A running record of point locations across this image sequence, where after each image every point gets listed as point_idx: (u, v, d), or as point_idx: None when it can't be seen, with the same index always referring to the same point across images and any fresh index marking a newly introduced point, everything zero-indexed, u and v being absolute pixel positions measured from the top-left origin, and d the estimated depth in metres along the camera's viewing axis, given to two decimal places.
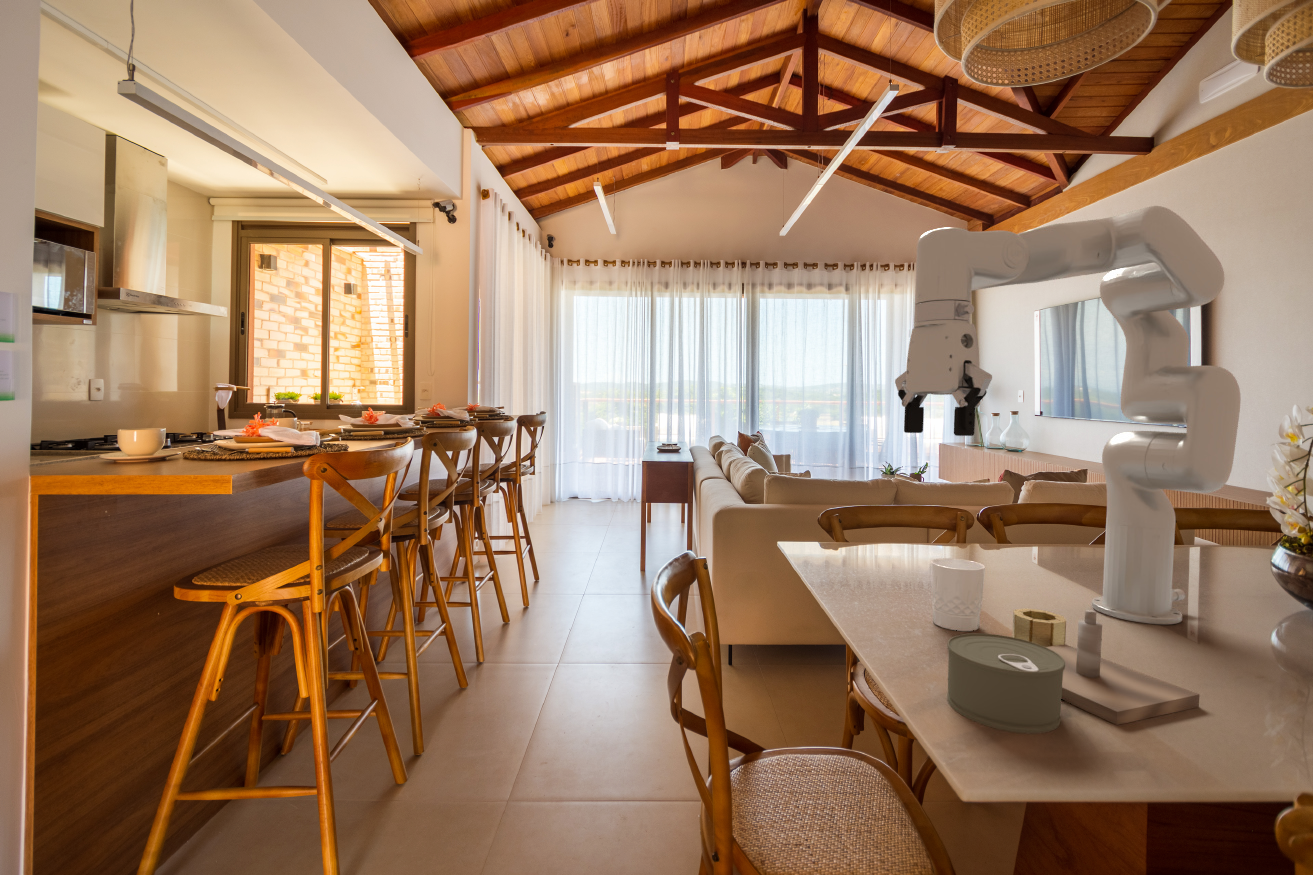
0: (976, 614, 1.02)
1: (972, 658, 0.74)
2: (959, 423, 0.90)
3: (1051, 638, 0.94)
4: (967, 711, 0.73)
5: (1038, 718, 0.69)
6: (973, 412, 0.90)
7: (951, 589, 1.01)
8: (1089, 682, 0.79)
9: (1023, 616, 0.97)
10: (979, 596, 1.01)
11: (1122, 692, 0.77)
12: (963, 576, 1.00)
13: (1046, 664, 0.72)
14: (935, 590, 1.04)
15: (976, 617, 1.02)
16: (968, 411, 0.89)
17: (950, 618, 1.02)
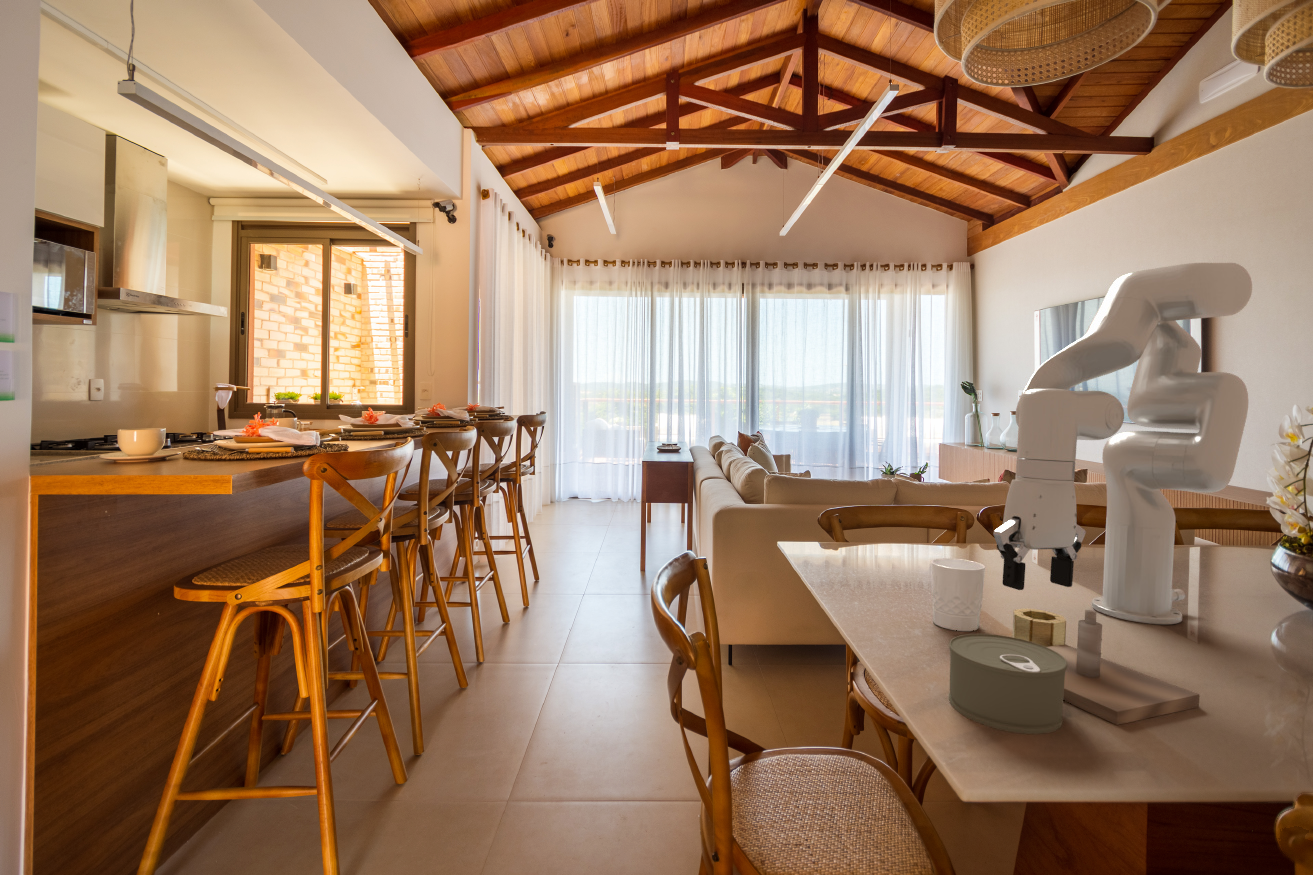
0: (976, 614, 1.02)
1: (973, 658, 0.73)
2: None
3: (1051, 638, 0.94)
4: (969, 711, 0.73)
5: (1040, 719, 0.69)
6: None
7: (951, 589, 1.01)
8: (1089, 682, 0.79)
9: (1023, 616, 0.97)
10: (979, 596, 1.01)
11: (1122, 692, 0.77)
12: (963, 576, 1.00)
13: (1048, 664, 0.72)
14: (934, 590, 1.04)
15: (976, 617, 1.02)
16: None
17: (950, 618, 1.02)
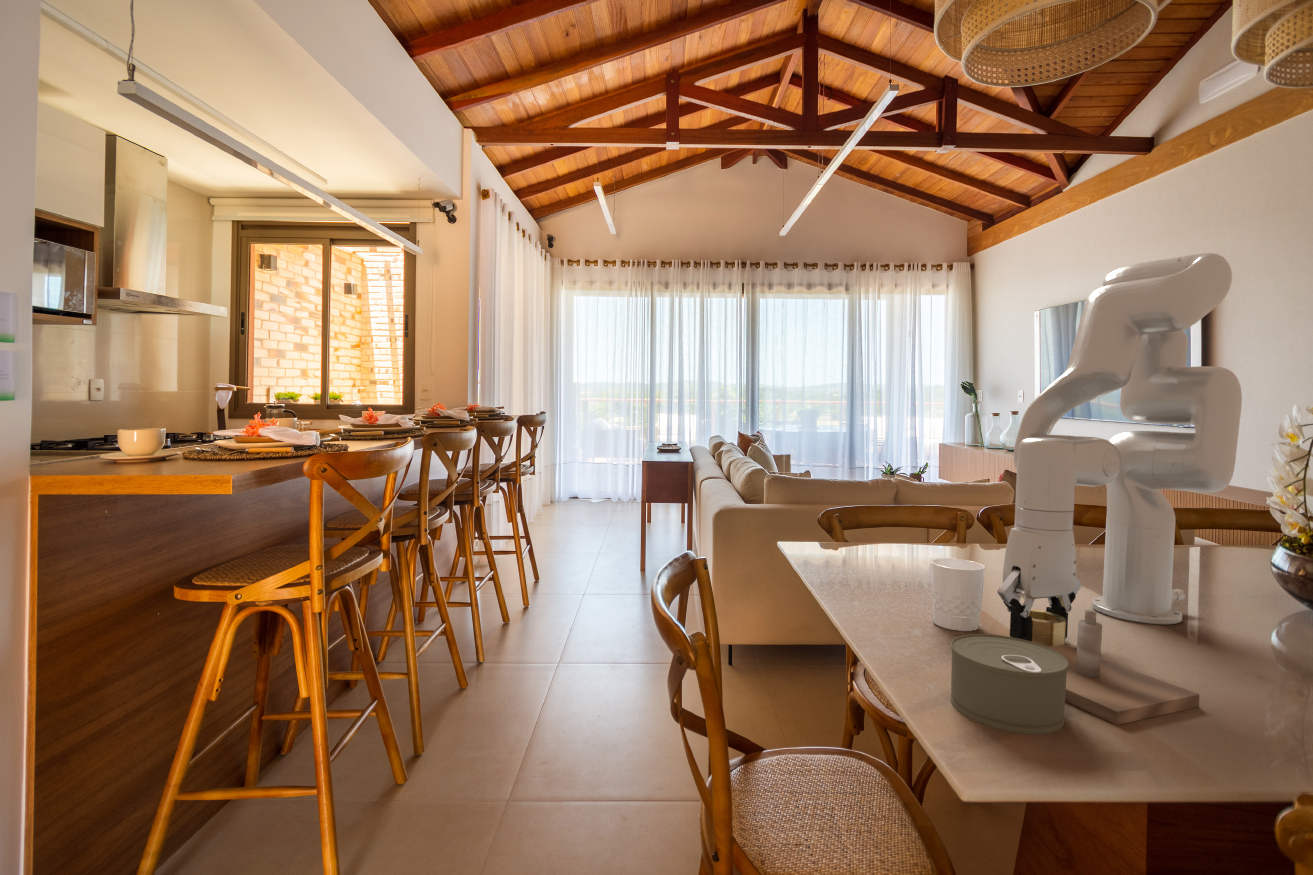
0: (976, 614, 1.02)
1: (975, 658, 0.73)
2: None
3: (1051, 638, 0.94)
4: (970, 712, 0.73)
5: (1041, 719, 0.69)
6: None
7: (951, 589, 1.01)
8: (1089, 682, 0.79)
9: None
10: (979, 596, 1.01)
11: (1122, 692, 0.77)
12: (963, 576, 1.00)
13: (1050, 665, 0.72)
14: (935, 590, 1.04)
15: (976, 617, 1.02)
16: None
17: (950, 618, 1.02)
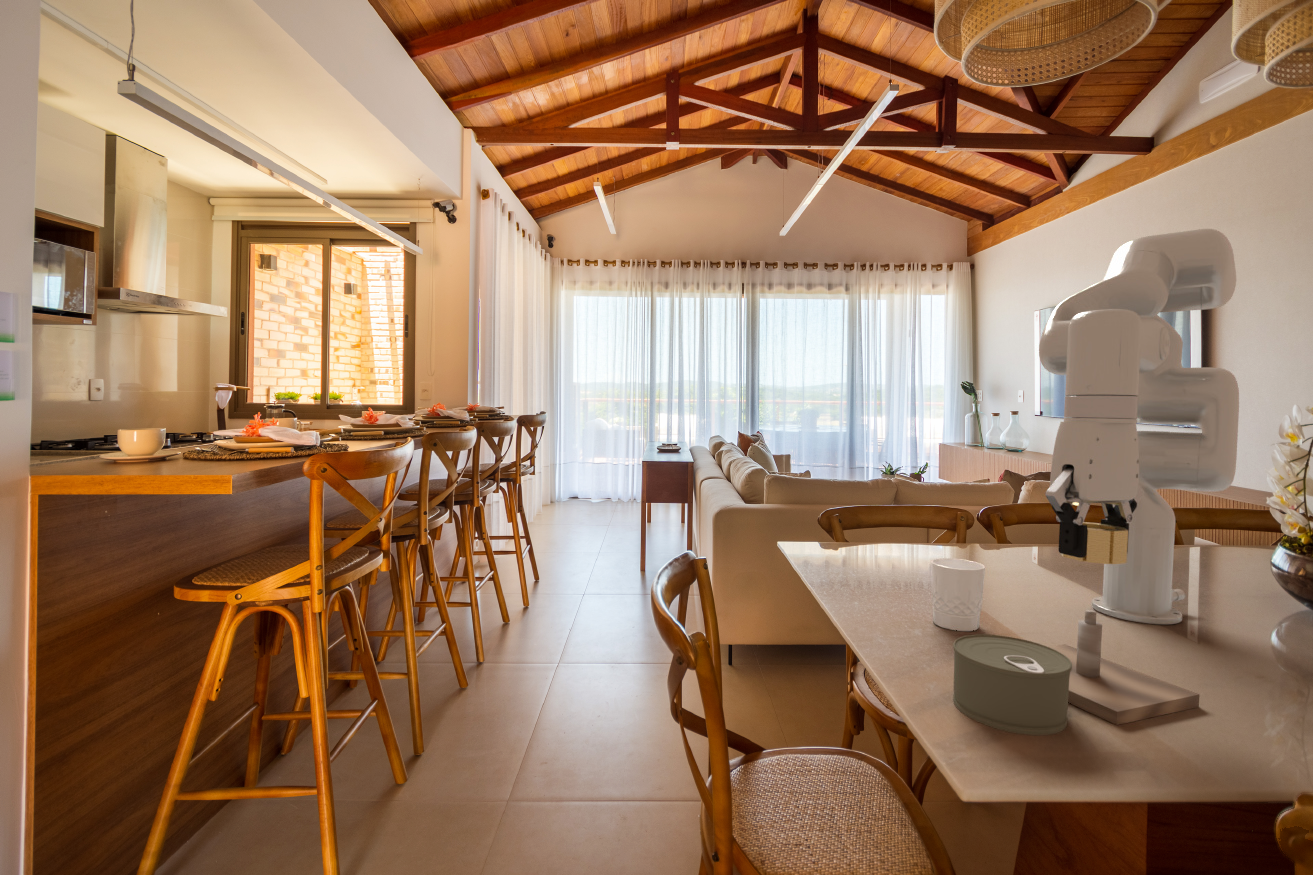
0: (976, 614, 1.02)
1: (977, 658, 0.73)
2: None
3: (1110, 550, 0.78)
4: (972, 712, 0.73)
5: (1043, 720, 0.69)
6: None
7: (951, 589, 1.01)
8: (1089, 682, 0.79)
9: None
10: (979, 596, 1.01)
11: (1122, 692, 0.77)
12: (963, 576, 1.00)
13: (1053, 665, 0.72)
14: (935, 590, 1.04)
15: (976, 617, 1.02)
16: None
17: (950, 618, 1.02)
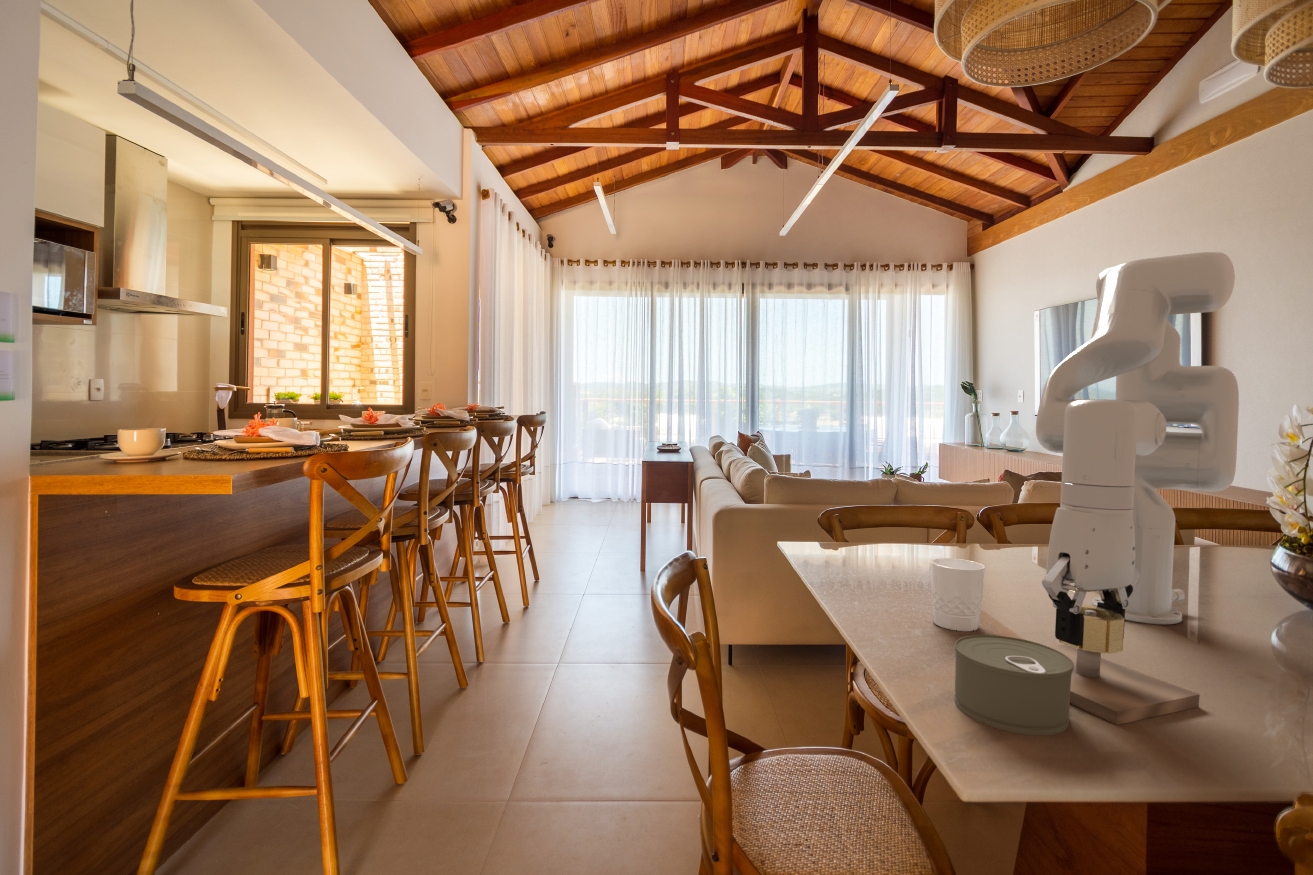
0: (976, 614, 1.02)
1: (978, 659, 0.73)
2: None
3: (1107, 639, 0.78)
4: (973, 712, 0.73)
5: (1045, 720, 0.69)
6: None
7: (951, 589, 1.01)
8: (1089, 682, 0.79)
9: None
10: (979, 596, 1.01)
11: (1122, 692, 0.77)
12: (963, 576, 1.00)
13: (1054, 666, 0.71)
14: (935, 590, 1.04)
15: (976, 617, 1.02)
16: None
17: (950, 618, 1.02)
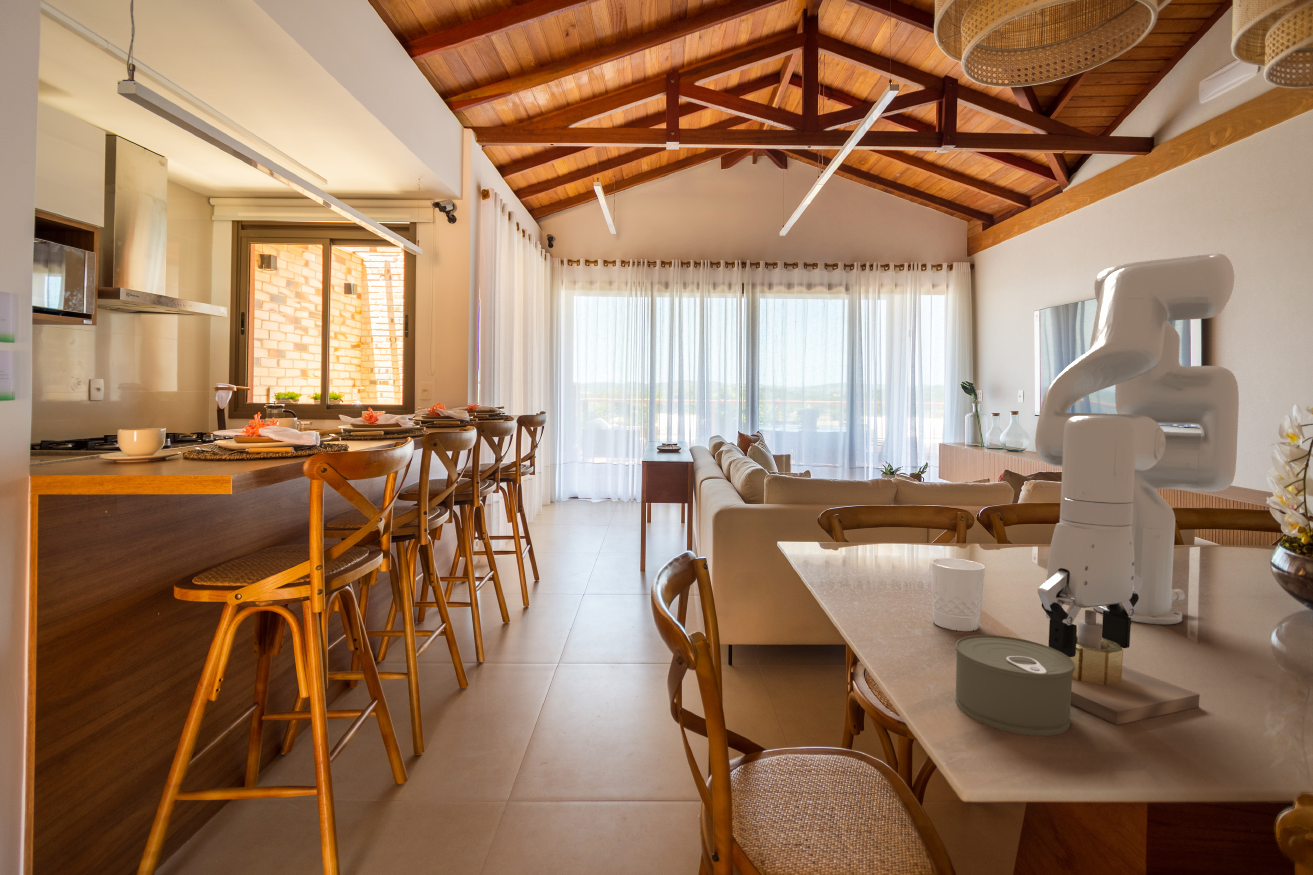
0: (976, 614, 1.02)
1: (979, 659, 0.73)
2: None
3: (1105, 670, 0.79)
4: (974, 712, 0.73)
5: (1046, 720, 0.69)
6: None
7: (951, 589, 1.01)
8: None
9: None
10: (979, 596, 1.01)
11: (1122, 692, 0.77)
12: (963, 576, 1.00)
13: (1056, 666, 0.71)
14: (935, 590, 1.04)
15: (976, 617, 1.02)
16: None
17: (950, 618, 1.02)
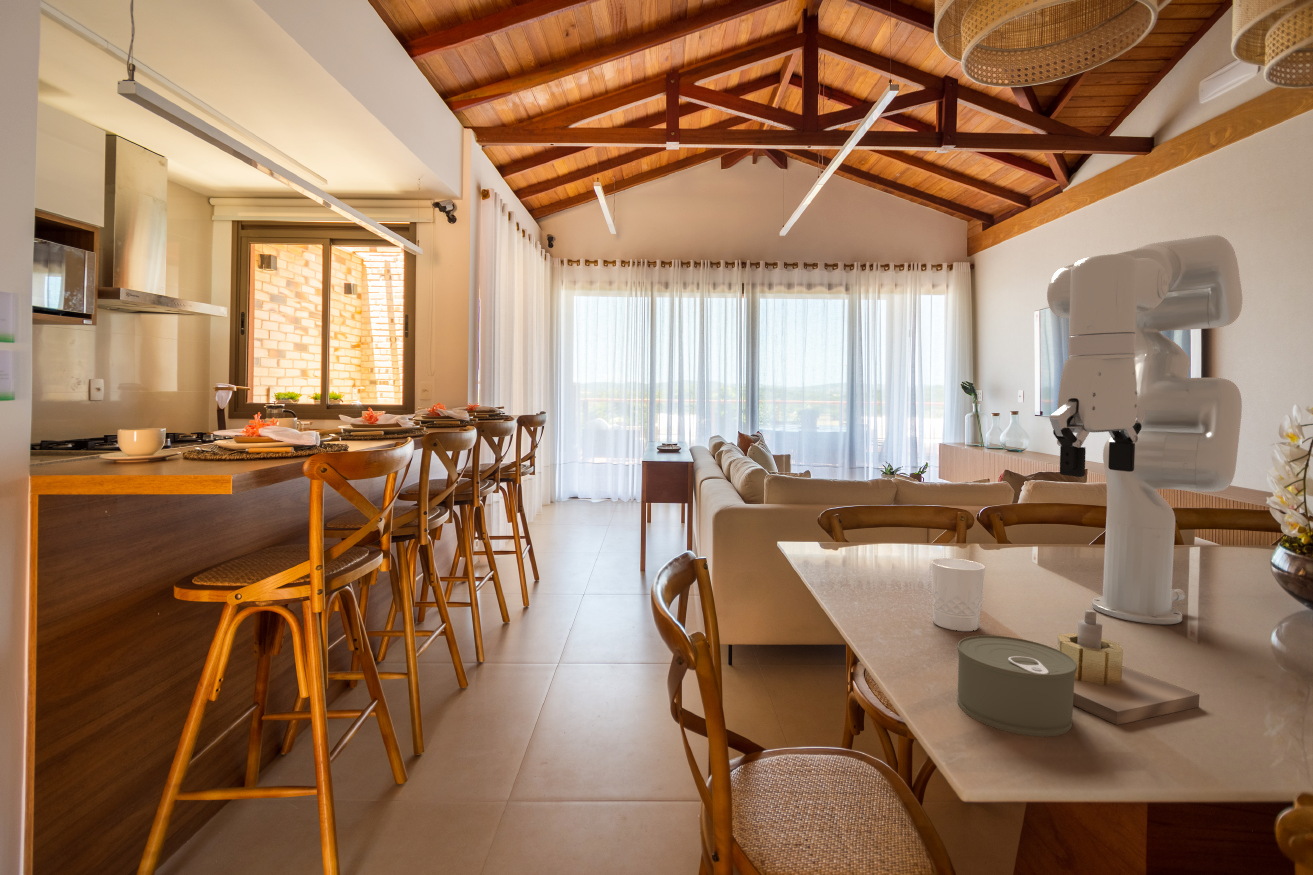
0: (976, 614, 1.02)
1: (981, 659, 0.73)
2: None
3: (1105, 670, 0.79)
4: (976, 713, 0.73)
5: (1048, 721, 0.69)
6: None
7: (951, 589, 1.01)
8: None
9: (1070, 643, 0.81)
10: (979, 596, 1.01)
11: (1122, 692, 0.77)
12: (963, 576, 1.00)
13: (1058, 667, 0.71)
14: (935, 590, 1.04)
15: (976, 617, 1.02)
16: None
17: (950, 618, 1.02)
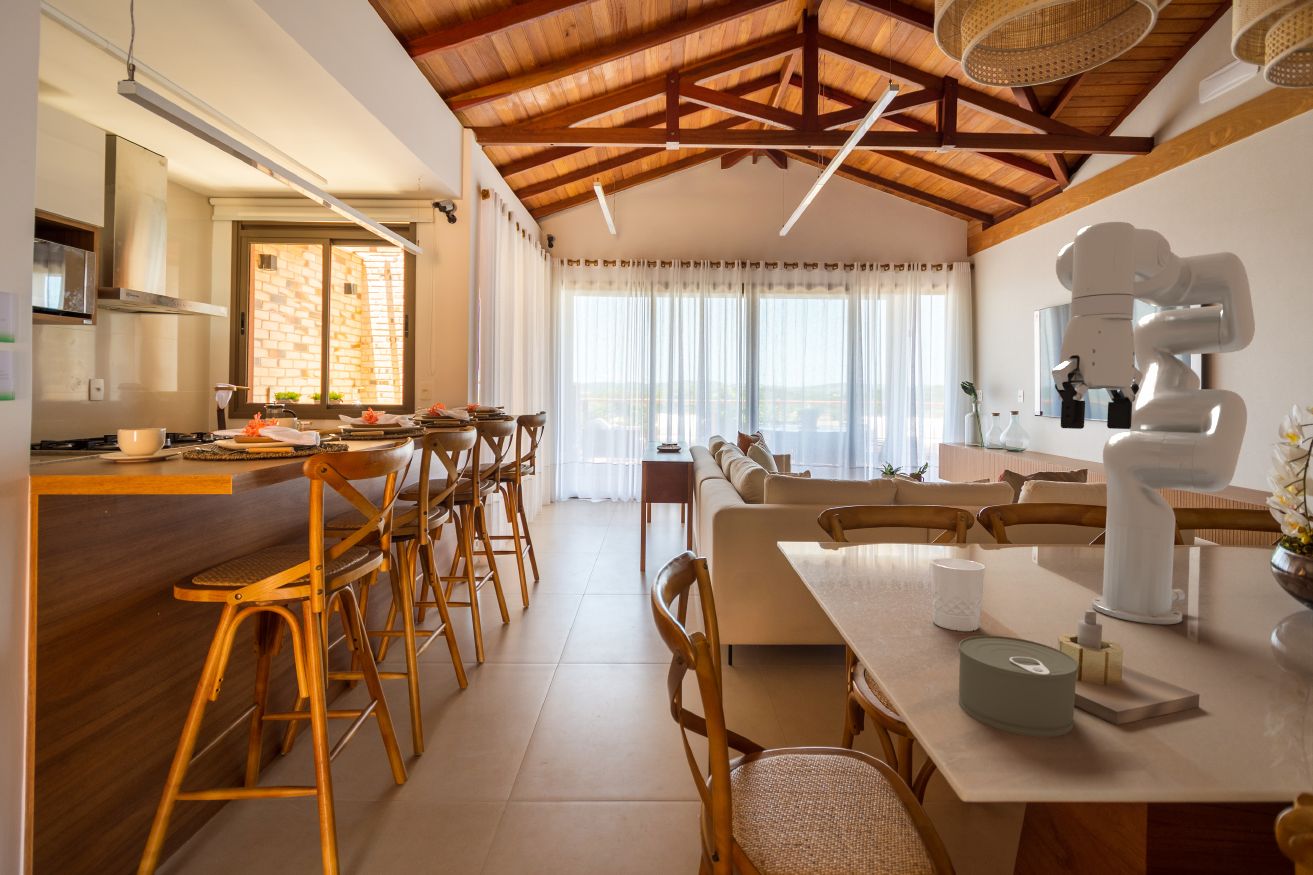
0: (976, 614, 1.02)
1: (982, 659, 0.73)
2: None
3: (1105, 670, 0.79)
4: (977, 713, 0.72)
5: (1049, 721, 0.69)
6: None
7: (951, 589, 1.01)
8: None
9: (1070, 643, 0.81)
10: (979, 596, 1.01)
11: (1122, 692, 0.77)
12: (963, 576, 1.00)
13: (1059, 667, 0.71)
14: (935, 590, 1.04)
15: (976, 617, 1.02)
16: None
17: (950, 618, 1.02)
